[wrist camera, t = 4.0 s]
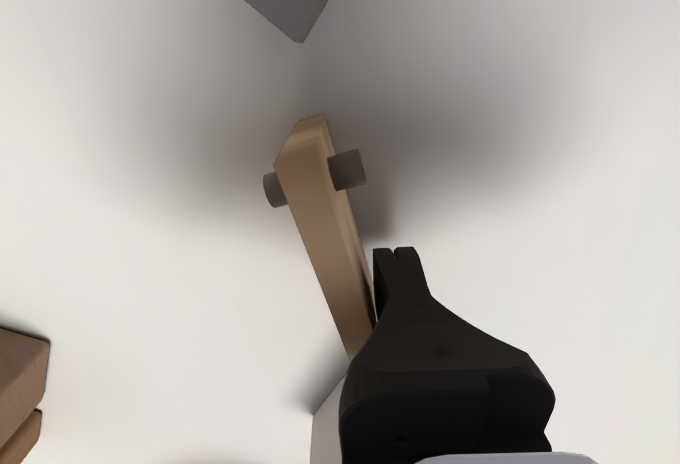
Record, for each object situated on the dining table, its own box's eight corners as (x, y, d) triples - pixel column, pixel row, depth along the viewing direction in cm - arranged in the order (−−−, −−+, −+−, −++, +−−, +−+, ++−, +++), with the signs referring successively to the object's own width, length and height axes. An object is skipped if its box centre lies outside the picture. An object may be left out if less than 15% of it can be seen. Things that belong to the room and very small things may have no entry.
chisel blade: (377, 331, 17) (392, 438, 13) (398, 339, 18) (422, 446, 13) (311, 416, 21) (304, 523, 16) (330, 421, 21) (328, 528, 17)
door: (404, 331, 17) (429, 431, 12) (352, 341, 17) (358, 443, 13) (348, 106, 11) (355, 141, 7) (273, 128, 12) (235, 175, 7)
